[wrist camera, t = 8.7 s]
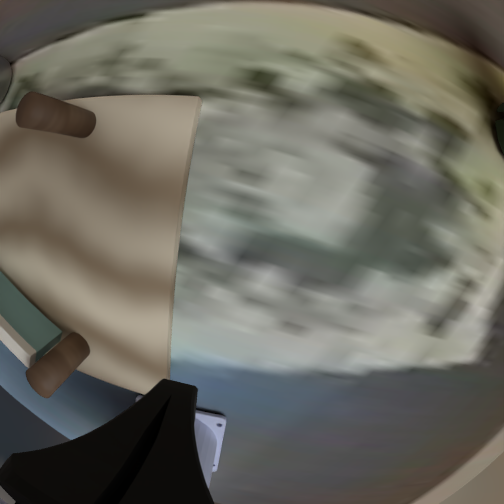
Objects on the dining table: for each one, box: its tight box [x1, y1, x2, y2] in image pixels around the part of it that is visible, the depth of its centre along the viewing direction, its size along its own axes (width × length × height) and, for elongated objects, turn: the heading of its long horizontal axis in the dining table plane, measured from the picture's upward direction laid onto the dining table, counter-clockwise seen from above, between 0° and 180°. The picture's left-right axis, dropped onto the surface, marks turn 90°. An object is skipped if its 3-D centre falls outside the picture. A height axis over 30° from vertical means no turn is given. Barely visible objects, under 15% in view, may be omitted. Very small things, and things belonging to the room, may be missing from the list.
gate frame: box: [0, 92, 202, 398], centre depth 15 cm, size 22×20×7 cm
